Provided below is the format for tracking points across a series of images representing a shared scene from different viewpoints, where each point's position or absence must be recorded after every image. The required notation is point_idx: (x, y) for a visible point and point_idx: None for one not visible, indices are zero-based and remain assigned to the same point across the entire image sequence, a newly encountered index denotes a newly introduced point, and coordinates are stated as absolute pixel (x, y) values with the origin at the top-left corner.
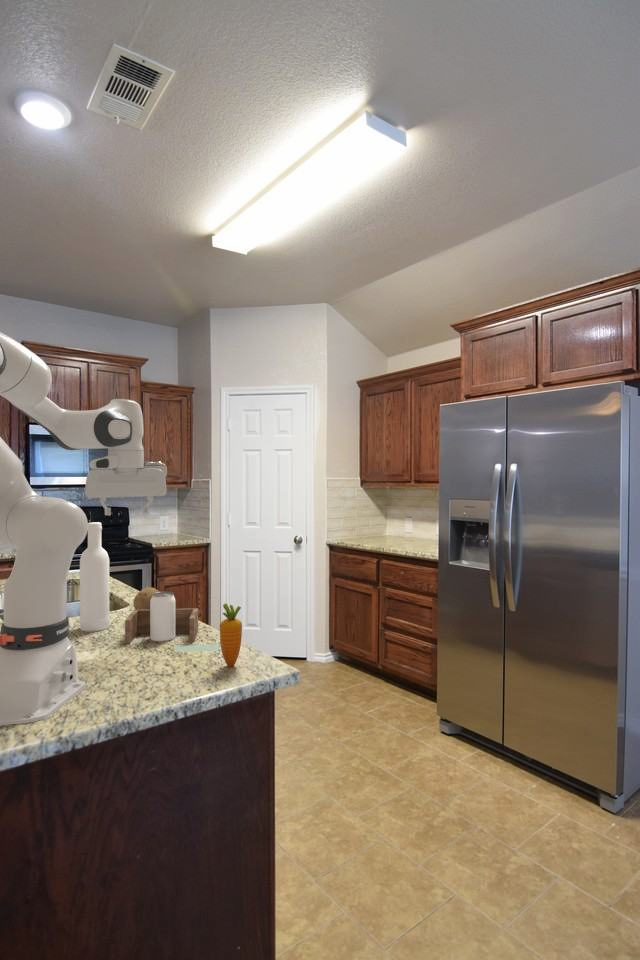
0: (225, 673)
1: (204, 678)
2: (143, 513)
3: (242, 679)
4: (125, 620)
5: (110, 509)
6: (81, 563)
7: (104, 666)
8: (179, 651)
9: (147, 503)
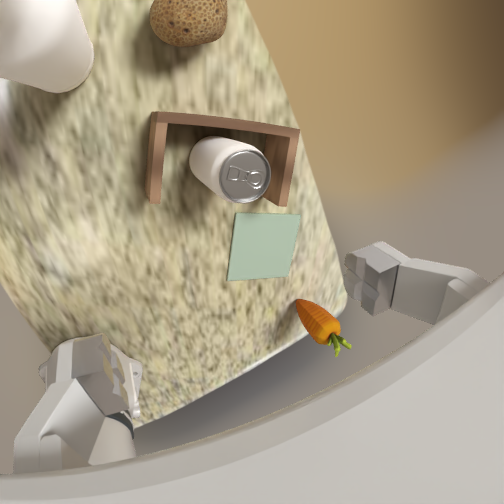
0: (289, 311)
1: (266, 324)
2: (345, 284)
3: (301, 324)
4: (150, 202)
5: (126, 402)
6: None
7: (135, 288)
8: (241, 242)
9: (424, 273)
